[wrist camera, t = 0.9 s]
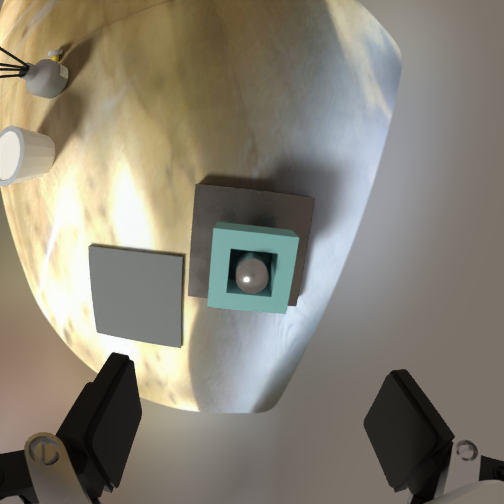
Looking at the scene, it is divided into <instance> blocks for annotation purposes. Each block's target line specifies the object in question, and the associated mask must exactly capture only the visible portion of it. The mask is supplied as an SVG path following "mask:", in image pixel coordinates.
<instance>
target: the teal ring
mask: <svg viewBox="0 0 504 504" xmlns="http://www.w3.org/2000/svg"><path fill="white" fill-rule="evenodd" d="M298 242H299V237H298V236H297V235H296V234H295V233H294V232H293V231H292V230H287V229H279V228H270V227H261V226H253V225H244V224H234V223H225V222H217V223H216V225H215V226H214V229H213V240H212V252H211V264H210V277H209V291H208V306H207V307H215V308H224V309H234V310H245V311H256V312H268V313H282V314H286V310H287V305H288V300H289V294H290V289H291V283H292V278H293V272H294V266H295V260H296V254H297V248H298ZM231 249H240V250H249V251H258V252H268V253H272V260H271V267H270V274H269V280H268V283H267V285H266V287H265V288H264V289H263V290H261V291H260V292H257V293H247V292H244V291H243V290H241V289H240V288H239V287H238V285H237V283H236V280H231V279H228V272H229V262H230V253H231Z"/></svg>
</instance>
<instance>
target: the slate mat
mask: <svg viewBox="0 0 504 504" xmlns="http://www.w3.org/2000/svg"><path fill="white" fill-rule="evenodd" d="M89 266H90V280H91V290H92V300H93V308H94V316H95V322H96V329H97V332H98V333H102V334H107V335H111V336H116V337H121V338H125V339H130V340H136V341H141V342H147V343H152V344H158V345H164V346H171V347H178V348H181V308H182V273H183V256H177V255H168V254H159V253H150V252H141V251H133V250H124V249H116V248H107V247H99V246H91V245H90V246H89Z"/></svg>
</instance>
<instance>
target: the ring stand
mask: <svg viewBox="0 0 504 504" xmlns="http://www.w3.org/2000/svg"><path fill="white" fill-rule="evenodd" d="M314 200H315V198H312V197H307V196H300V195H293V194H286V193H278V192H271V191H263V190H255V189H246V188H237V187H227V186H217V185H206V184H196V188H195V198H194V209H193V221H192V234H191V249H190V266H189V287H188V296H193V297H201V298H208V291H209V277H210V264H211V252H212V240H213V229H214V226H215V225H216V223H217V222H225V223H234V224H244V225H253V226H261V227H270V228H279V229H287V230H292V231H293V232H294V233H295V234H296V235H297V236H298V237H299V242H298V248H297V254H296V260H295V266H294V272H293V278H292V283H291V289H290V294H289V300H288V305H287V306H296V304H297V299H298V294H299V289H300V284H301V278H302V273H303V267H304V262H305V256H306V250H307V245H308V239H309V232H310V226H311V220H312V213H313V207H314ZM271 260H272V253H268V252H258V251H249V250H240V249H231V253H230V262H229V272H228V279H231V280H236V283H237V285H238V287H239V288H240V289H241V290H243V291H244V292H247V293H257V292H260V291H261V290H263V289H264V288H265V287H266V285H267V283H268V280H269V274H270V267H271Z"/></svg>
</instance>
